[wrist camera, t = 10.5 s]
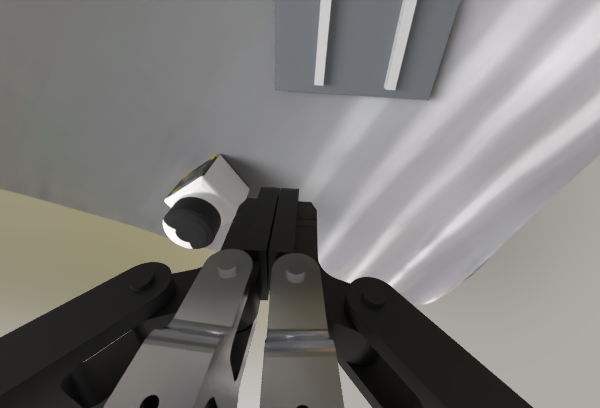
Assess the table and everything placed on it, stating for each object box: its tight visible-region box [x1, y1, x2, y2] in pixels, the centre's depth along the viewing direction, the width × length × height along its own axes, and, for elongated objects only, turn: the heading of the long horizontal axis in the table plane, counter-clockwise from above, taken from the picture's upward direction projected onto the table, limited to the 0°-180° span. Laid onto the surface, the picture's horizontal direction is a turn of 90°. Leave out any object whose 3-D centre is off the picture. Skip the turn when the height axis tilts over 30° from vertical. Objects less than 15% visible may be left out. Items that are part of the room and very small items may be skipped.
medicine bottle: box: [163, 154, 249, 249], centre depth 34 cm, size 7×7×12 cm
